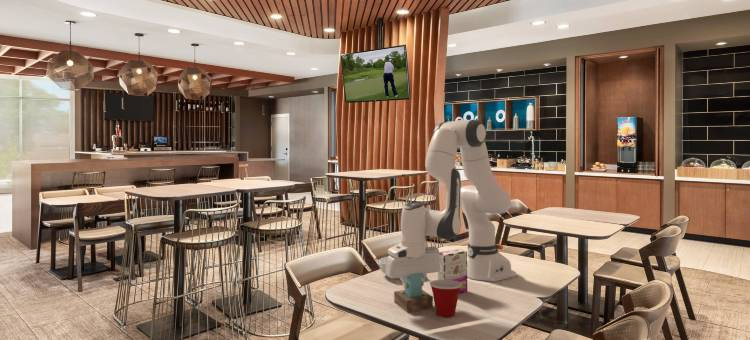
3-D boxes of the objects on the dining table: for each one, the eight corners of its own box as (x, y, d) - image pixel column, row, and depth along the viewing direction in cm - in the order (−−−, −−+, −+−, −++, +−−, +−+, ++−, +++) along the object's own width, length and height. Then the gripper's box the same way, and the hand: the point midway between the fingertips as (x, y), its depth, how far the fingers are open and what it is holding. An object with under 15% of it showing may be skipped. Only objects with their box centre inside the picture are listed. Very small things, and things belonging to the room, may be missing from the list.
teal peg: (416, 301, 169) (416, 269, 168) (421, 306, 165) (422, 273, 164) (404, 303, 167) (404, 271, 166) (410, 307, 163) (410, 274, 162)
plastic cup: (461, 311, 162) (461, 278, 161) (462, 324, 152) (462, 288, 151) (430, 309, 164) (430, 276, 163) (428, 322, 154) (428, 286, 153)
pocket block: (419, 300, 173) (419, 287, 172) (432, 310, 163) (432, 296, 163) (394, 304, 169) (394, 291, 168) (406, 315, 160) (406, 301, 159)
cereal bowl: (424, 273, 205) (424, 258, 205) (406, 284, 191) (406, 267, 191) (391, 268, 214) (391, 252, 214) (371, 277, 200) (371, 261, 200)
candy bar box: (459, 288, 186) (460, 248, 184) (467, 292, 181) (468, 251, 180) (436, 293, 181) (436, 251, 179) (444, 297, 176) (444, 254, 175)
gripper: (434, 243, 171) (434, 280, 172) (383, 249, 163) (383, 288, 165) (443, 247, 165) (443, 285, 167) (391, 254, 158) (391, 293, 159)
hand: (413, 286), depth 166 cm, fingers closed on teal peg, 4 cm apart
